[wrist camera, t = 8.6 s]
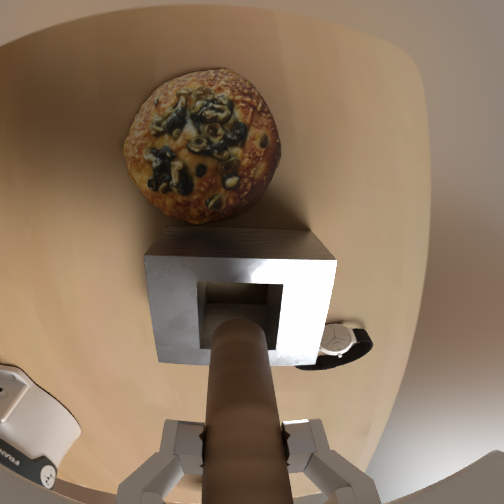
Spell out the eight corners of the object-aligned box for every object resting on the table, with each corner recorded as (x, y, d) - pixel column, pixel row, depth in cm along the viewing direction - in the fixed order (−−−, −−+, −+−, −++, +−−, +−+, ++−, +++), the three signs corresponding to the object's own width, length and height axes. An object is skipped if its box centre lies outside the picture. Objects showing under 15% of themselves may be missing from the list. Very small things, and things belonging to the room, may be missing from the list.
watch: (366, 313, 25) (382, 335, 22) (362, 350, 27) (375, 373, 24) (288, 329, 25) (295, 355, 22) (291, 365, 27) (297, 391, 24)
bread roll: (274, 225, 21) (274, 243, 17) (137, 214, 22) (105, 229, 17) (286, 79, 18) (289, 56, 13) (144, 81, 18) (113, 64, 14)
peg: (211, 317, 15) (195, 557, 4) (267, 318, 15) (312, 552, 4) (212, 359, 16) (205, 563, 5) (263, 360, 16) (293, 561, 5)
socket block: (172, 315, 24) (158, 362, 18) (166, 226, 21) (144, 255, 15) (299, 318, 25) (315, 364, 19) (311, 230, 22) (336, 260, 16)
